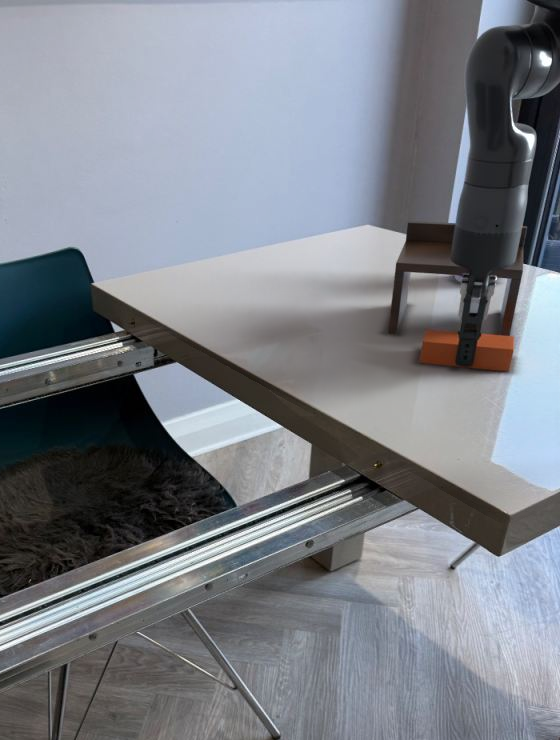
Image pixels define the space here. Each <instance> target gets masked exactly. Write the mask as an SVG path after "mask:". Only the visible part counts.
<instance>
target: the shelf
mask: <svg viewBox="0 0 560 740" xmlns="http://www.w3.org/2000/svg"><path fill="white" fill-rule="evenodd" d="M455 223H456V222H439V221H419V220H418V221H417V220H408V222H407V227H406V234H405V242H404V244H403V246H402V248H401V251H400V253H399V255H398V258H397V260H396V262H395V269H394V277H393V286H392V294H391V304H390V313H389V320H388V330H387V333H388V334H395V335H397V333H398V331H399V328H400V325H401V322H402V319H403V316H404V314H405V311H406V307H407V304H408V296H409V289H410V281H411V273H414V274H415V273H417V274H432V275H448V276H455V275H461V276H463V274H470V271H469V269H468V268H466V267H460V266H458V265H456V264H454V263H453V262H452V261H451V258H450V255H451V249H452V242H453V236H454V229H455ZM527 231H528V226H527V225H523V226H522V231H521V236H520V241H519V246H518V251H517V256H516V260H515V262H514V264H513V265H511V266H510V267H508V268H505V269H500V270H499V269H495V270H492V271H491V273H490V275H494V276H496V278H497V279H506V284H505V289H504V294H503V298H502V299H503V300H502V304H501V309H500V317H499V318H500V319H499V333H498V335H502V336H511V331H512V328H513V327H512V326H513V322H514V316H515V312H516V307H517V303H518V297H519V292H520V288H521V282H522V278H523V272H524V245H525V240H526V236H527Z"/></svg>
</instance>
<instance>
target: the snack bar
mask: <svg viewBox="0 0 560 740" xmlns="http://www.w3.org/2000/svg"><path fill="white" fill-rule="evenodd" d="M458 337H459V335H458V331H455V330H444V329H432V328H431V329H429V328H426V329H425V330H424V336H423V337H422V341H421V348H420V357H419V363H420V364H427V365H437V366H447V367H458V368H469V369H478V370H489V371H500V372H510V369H511V364H512V360H513V355H514V350H515V348H514V347H515V336H513V335H512V336H511V335H510V336H502V335H499V334H490V333H489V334H488V333H481V337H479V340H478V341H477V347H476V352H475V358H474V363H473V365H472V366H470V367H468V366H458V365H456V363H455V360H456V355H457V349H458V343H459V338H458Z"/></svg>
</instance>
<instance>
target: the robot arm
mask: <svg viewBox="0 0 560 740" xmlns="http://www.w3.org/2000/svg"><path fill="white" fill-rule="evenodd" d="M524 1H525V2H527V3H529V4H531V5H533V6H535V7H534V12H533V16H532V19H531V21H530V23H526V24H525V23H524V24H511V25H499V26H494V27H491V28H488V29H487V30H486V31H484V32H482V34H480V36H478V38H477V39H476V40H475V42H474V44H473V45H472V47H471V49H470V50H469V53H468V56H467V59H466V62H465V67H464V76H463V77H464V79H463V80H464V83H463V84H464V93H465V105H466V114H467V126H468V136H469V149H468V155H467V160H466V166H465V167H466V168H465V173H464V181H463V184H462V189H461V193H460V195H459V199H458V203H457V210H456V217H455V222H454V223H455V229H454V236H453V242H452V249H451V255H450V258H451V261H452V262H453V263H454V264H456V265H458V266H460V267H466V268H468V269H469V271H470V274H463V277H462V282H460V289H459V294H460V295H461V296H460V302H459V306H458V313H457V317H458V318H459V319H460V326H459V330H457V332H458V335H459V337H458V338H459V343H458V349H457V355H456V360H455V363H456V365H458V366H468V367H470V366H472V365H473V363H474V358H475V352H476V347H477V341H478V340H479V337H481V334H482V328H483V327H482V326H483V321H486V320H487V318H488V315H489V310H490V303H491V298H492V297H493V296H494V294H495V288H496V281H497V280H496V276H494V275H490V273H491V271H492V270H495V269H499V270H500V269H505V268H508V267H510V266H511V265H513V264H514V262H515V260H516V256H517V251H518V246H519V241H520V236H521V231H522V226H524V220H525V216H526V210H527V205H528V192H529V185H530V184H529V182H530V178H531V173H532V168H533V163H534V158H535V154H536V148H537V133H536V130H535V129H534V128H533V127H532V126H530V125H527V124H525V123H521V122H520V123H519V122H515V120H514V115H513V114H514V113H513V103H512V102H513V101H515V100H524V99H533V98H535V99H536V98H539V97H542V96H545V95H546V94H549V93H550V92H551V91H552V90H553V89H554V88H555V87H557V86H558V84H559V83H560V0H524ZM495 280H496V281H495Z"/></svg>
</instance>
